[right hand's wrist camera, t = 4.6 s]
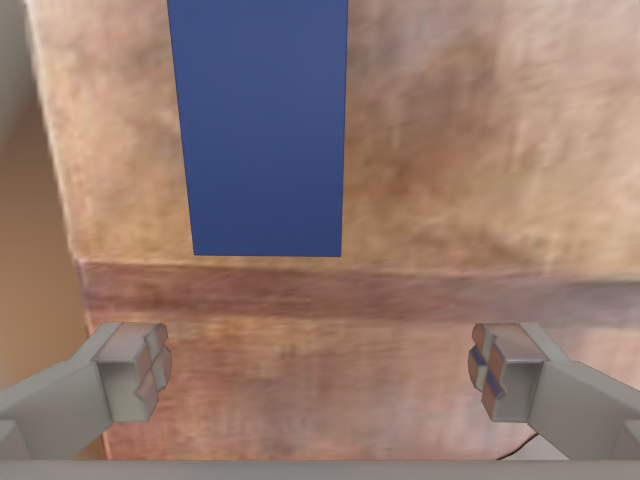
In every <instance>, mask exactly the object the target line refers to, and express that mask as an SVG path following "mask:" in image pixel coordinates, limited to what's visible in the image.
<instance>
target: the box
mask: <svg viewBox="0 0 640 480" xmlns="http://www.w3.org/2000/svg"><path fill="white" fill-rule="evenodd" d="M167 6H168V15H169V25H170V34H171V44H172V53H173V62H174V72H175V81H176V91H177V100H178V109H179V119H180V128H181V137H182V147H183V156H184V166H185V175H186V184H187V194H188V203H189V212H190V222H191V231H192V241H193V250H194V255H207V256H303V257H341V241H342V204H343V168H344V132H345V95H346V59H347V23H348V0H167Z"/></svg>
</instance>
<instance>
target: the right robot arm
mask: <svg viewBox="0 0 640 480" xmlns="http://www.w3.org/2000/svg"><path fill="white" fill-rule="evenodd" d="M167 338H168V333H167V328H166V326H165V325H164V324H163V323H139V322H125V323H124V322H106V323H102V324H101V325H100V326H99V327H98V328H97V330H96V331H95V332H94V333H93V334H92V335H91V336H90V337H89V338H88V339H87V340H86V342H85V343H84V344H83V345H82V346H81V347H80V348H79V349H78V350H77V351H76V353H75V354H74V355H73V356H72V357H71V358H70V359H69V360H68V361H61V362H59V363H57V364H55V365H52V366H50V367H48V368H46V369H44V370H42V371H40V372H38V373H36V374H34V375H32V376H30V377H28V378H26V379H24V380H22V381H20V382H18V383H16V384H13V385H11V386H9V387H7V388H5V389H3V390H1V391H0V480H640V391H639V390H637V389H635V388H633V387H630V386H628V385H626V384H624V383H622V382H620V381H618V380H616V379H614V378H612V377H610V376H608V375H606V374H604V373H602V372H600V371H598V370H596V369H594V368H592V367H590V366H587V365H585V364H583V363H581V362H579V361H572V360H571V359H570V358H569V357H568V356H567V355H566V354H565V353H564V351H563V350H562V349H561V348H560V347H559V346H558V345H557V344H556V343H555V342H554V340H553V339H552V338H551V337H550V336H549V335H548V334H547V333H546V332H545V331H544V329H543V328H542V327H541V326H540V325H539V324H537V323H535V322H515V323H479V324H475V326H474V328H473V333H472V338H473V340H474V342H475V343H476V345H475V346H474V347H473V348H472V349H471V350H470V351H469V356H468V370H469V375H470V379H471V381H472V383H473V385H474V388H476V389H477V390H479V391H480V392H482V393H483V394H482V399H481V401H482V403H483V405H484V407H485V409H486V411H487V413H488V415H489V417H490V419H491V421H492V422H515V423H528V424H527V425H529V426H530V427H531V428H532V429H533V430H535V431H536V432H537V433H538V434H539V435H537V436H536V437H534V438H533V439H532V440H530V441H529V442H528V443H527V444H526V445H525V446H523V447H522V448H521V449H520V450H519V451H517V452H516V453H515V454H513V455H511V456H508V457H506V458H503V459H501V460H70V459H72V458H73V457H74V456H75V455H76V454H78V453H79V452H80V451H81V450H82V449H84V448H85V447H86V446H87V445H89V444H90V443H91V442H92V441H93V440H95V439H96V438H97V437H98V436H99V435H101V434H102V433H103V432H104V431H105V430H107V429H108V428H109V427H110V426H112V423H124V422H148V421H149V419H150V417H151V415H152V413H153V411H154V409H155V407H156V405H157V403H158V401H159V399H158V394H157V393H158V392H160V391H161V390H163V389H164V388H166V385H167V383H168V381H169V379H170V375H171V370H172V356H171V351H170V350H169V349H168V348H167V347H166V346H165V345H164V343H165V342H166V340H167Z"/></svg>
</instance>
